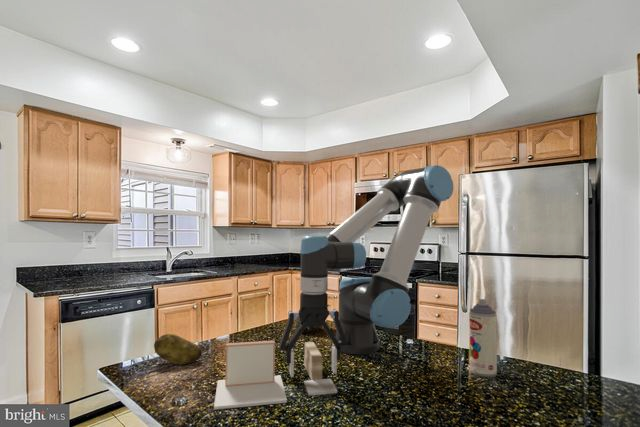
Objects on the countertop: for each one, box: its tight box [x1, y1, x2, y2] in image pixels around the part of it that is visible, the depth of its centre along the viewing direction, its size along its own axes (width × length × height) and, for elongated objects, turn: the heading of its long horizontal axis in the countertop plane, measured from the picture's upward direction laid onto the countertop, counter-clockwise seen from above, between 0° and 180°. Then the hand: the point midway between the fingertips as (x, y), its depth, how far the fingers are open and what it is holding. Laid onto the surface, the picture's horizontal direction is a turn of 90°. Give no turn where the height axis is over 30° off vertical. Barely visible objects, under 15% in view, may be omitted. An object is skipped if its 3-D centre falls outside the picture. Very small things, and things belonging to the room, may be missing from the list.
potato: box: [153, 333, 203, 366], centre depth 105 cm, size 8×13×8 cm, turn 76°
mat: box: [213, 374, 288, 411], centre depth 87 cm, size 16×14×1 cm
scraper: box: [303, 341, 338, 397], centre depth 95 cm, size 19×7×6 cm, turn 12°
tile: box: [224, 340, 276, 387], centre depth 90 cm, size 12×2×10 cm, turn 102°
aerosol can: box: [468, 298, 498, 378], centre depth 100 cm, size 7×7×20 cm
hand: (313, 373), depth 98 cm, fingers open, 11 cm apart
